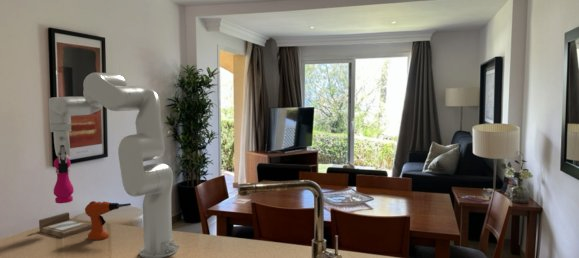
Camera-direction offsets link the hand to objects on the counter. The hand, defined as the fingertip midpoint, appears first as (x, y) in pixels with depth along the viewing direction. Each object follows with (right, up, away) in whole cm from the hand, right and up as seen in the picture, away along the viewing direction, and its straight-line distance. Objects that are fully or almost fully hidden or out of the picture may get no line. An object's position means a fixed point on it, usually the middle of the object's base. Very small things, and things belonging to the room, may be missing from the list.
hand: (62, 171), depth 164 cm
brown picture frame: (0, -25, +2) cm, 25 cm away
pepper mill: (0, -13, +1) cm, 13 cm away
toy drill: (+22, -25, -7) cm, 35 cm away
